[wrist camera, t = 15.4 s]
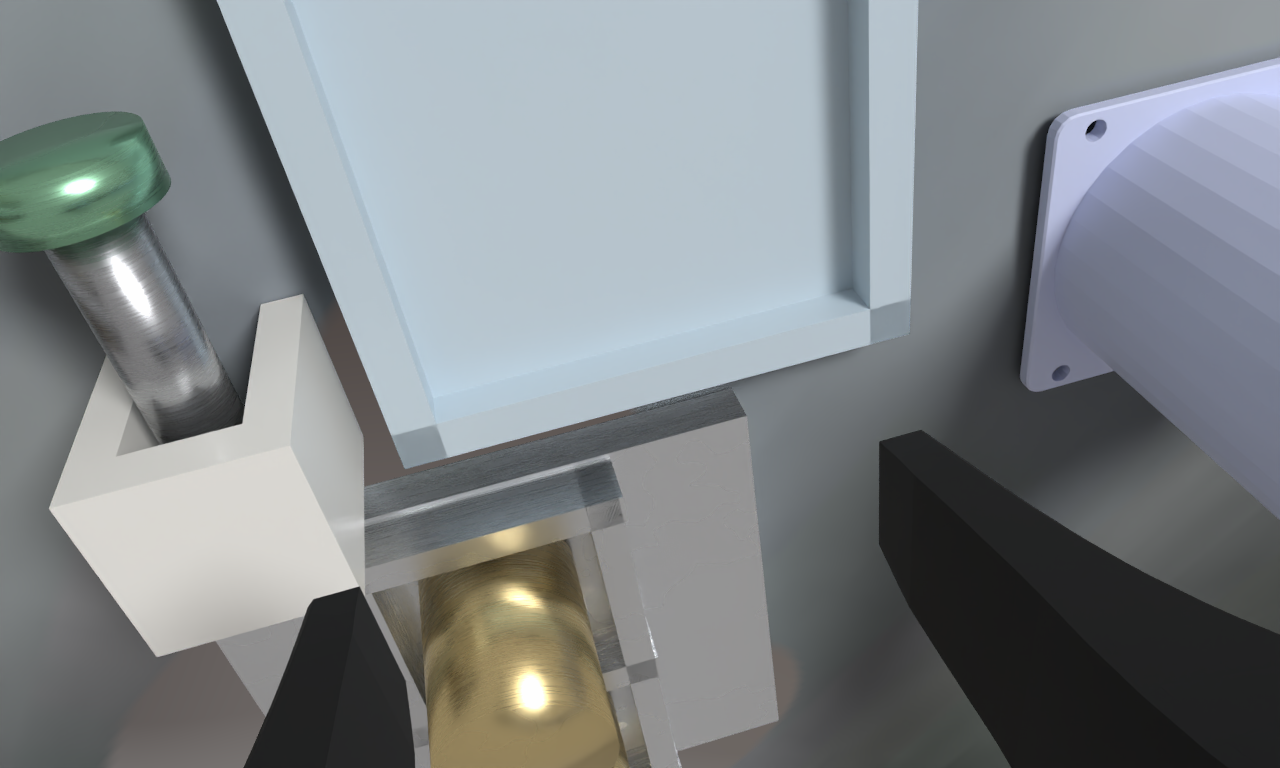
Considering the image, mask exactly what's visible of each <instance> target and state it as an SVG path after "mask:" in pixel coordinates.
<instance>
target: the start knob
mask: <svg viewBox="0 0 1280 768" xmlns="http://www.w3.org/2000/svg"><path fill="white" fill-rule="evenodd" d="M170 185H171V178H170V176H169V174H168V172H167V170H166V168H165V166H164V164H163V162H162V160H161V157H160V155H159V153H158V151H157V149H156V147H155V145H154V143H153V141H152V139H151V137H150V135H149V133H148V130H147V128H146V126H145V124H144V122H143V120H142V119H141V117H139V116H138V115H135V114H132V113H127V112H101V113H93V114H87V115H81V116H76V117H71V118H67V119H63V120H59V121H55V122H52V123H48V124H45V125H42V126H39V127H36V128H33V129H30V130H27V131H24V132H22V133H19V134H17V135H14V136H12V137H9V138H7V139H5V140H3V141H0V250H1V251H6V252H15V253H22V252H36V251H43V250H44V251H45V253H46V255H47V256H48V258H49V260H50V261H51V263H52V265H53V266H54V268H55V270H56V271H57V273H58V275H59V276H60V278H61V280H62V281H63V283H64V285H65V286H66V288H67V290H68V291H69V293H70V295H71V296H72V298H73V300H74V301H75V303H76V305H77V307H78V308H79V310H80V312H81V313H82V315H83V317H84V318H85V320H86V322H87V323H88V325H89V327H90V328H91V330H92V332H93V333H94V335H95V337H96V338H97V340H98V342H99V343H100V345H101V347H102V348H103V350H104V352H105V353H106V355H107V357H108V358H109V360H110V362H111V363H112V365H113V367H114V369H115V370H116V372H117V374H118V375H119V377H120V379H121V380H122V382H123V384H124V385H125V387H126V389H127V390H128V392H129V394H130V395H131V397H132V399H133V400H134V402H135V404H136V405H137V407H138V409H139V410H140V412H141V414H142V415H143V417H144V419H145V420H146V422H147V424H148V425H149V427H150V429H151V430H152V432H153V434H154V436H155V437H156V439H157V441H158V442H159V444H160V445H163V444H166V443H170V442H174V441H178V440H182V439H186V438H190V437H193V436H197V435H201V434H205V433H209V432H213V431H217V430H221V429H224V428H228V427H232V426H236V425H240V424H242V423H243V416H244V410H245V408H244V406H243V404H242V402H241V400H240V399H239V397H238V395H237V393H236V391H235V389H234V387H233V385H232V383H231V381H230V379H229V377H228V375H227V373H226V371H225V369H224V367H223V365H222V363H221V361H220V359H219V357H218V355H217V353H216V352H215V350H214V348H213V346H212V344H211V342H210V340H209V338H208V336H207V334H206V332H205V330H204V328H203V326H202V324H201V322H200V320H199V318H198V316H197V314H196V312H195V310H194V308H193V307H192V305H191V303H190V301H189V299H188V297H187V295H186V293H185V291H184V289H183V287H182V285H181V283H180V281H179V279H178V277H177V275H176V273H175V271H174V269H173V267H172V265H171V263H170V261H169V260H168V258H167V256H166V254H165V252H164V250H163V248H162V246H161V244H160V242H159V240H158V238H157V236H156V234H155V232H154V230H153V228H152V226H151V224H150V222H149V220H148V218H147V216H146V215H145V213H144V212H146V211H147V210H149V209H150V208H152V207H153V206H154V205H155V204H156V203H158V202H159V201H160V200H161V199H162V198H163V197H164V196H165V194H166V193H167V192H168V190H169V188H170Z"/></svg>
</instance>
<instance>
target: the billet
mask: <svg viewBox="0 0 1280 768" xmlns="http://www.w3.org/2000/svg"><path fill="white" fill-rule="evenodd" d="M418 590H419V604H420V619H421V634H422V648H423V663H424V677H425V692H426V707H427V721H428V736H429V750H430V765H431V768H614V766H615V764H616V762H617V759H618V755H619V740H618V735H617V731H616V727H615V723H614V719H613V715H612V711H611V707H610V703H609V699H608V695H607V691H606V687H605V683H604V679H603V675H602V671H601V667H600V663H599V658H598V654H597V650H596V646H595V642H594V638H593V634H592V630H591V626H590V622H589V618H588V614H587V610H586V606H585V602H584V598H583V594H582V590H581V586H580V582H579V578H578V574H577V570H576V566H575V562H574V558H573V554H572V552H571V549H570V548H569V546H568V545H567V543H566V542H565V541H564V540H560V541H557V542H553V543H550V544H546V545H543V546H539V547H535V548H532V549H528V550H525V551H521V552H518V553H514V554H510V555H507V556H503V557H500V558H496V559H493V560H489V561H485V562H482V563H478V564H475V565H471V566H468V567H464V568H460V569H457V570H453V571H450V572H446V573H442V574H439V575H435V576H432V577H428V578H425V579H421V580H418Z"/></svg>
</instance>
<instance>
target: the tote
mask: <svg viewBox="0 0 1280 768" xmlns="http://www.w3.org/2000/svg"><path fill="white" fill-rule="evenodd" d="M217 2H218V5H219V7H220V10H221V12H222V15H223V17H224V20H225V22H226V25H227V27H228V30H229V32H230V35H231V37H232V40H233V42H234V45H235V47H236V50H237V52H238V55H239V57H240V60H241V62H242V65H243V67H244V70H245V72H246V75H247V77H248V80H249V82H250V85H251V87H252V90H253V92H254V95H255V97H256V100H257V102H258V105H259V107H260V110H261V112H262V115H263V117H264V120H265V122H266V125H267V127H268V130H269V132H270V135H271V137H272V140H273V142H274V145H275V147H276V150H277V152H278V155H279V157H280V159H281V162H282V164H283V167H284V169H285V172H286V174H287V177H288V179H289V182H290V184H291V187H292V189H293V192H294V194H295V197H296V199H297V202H298V204H299V207H300V209H301V212H302V214H303V217H304V219H305V222H306V224H307V227H308V229H309V232H310V234H311V237H312V239H313V242H314V244H315V247H316V249H317V252H318V254H319V257H320V259H321V262H322V264H323V267H324V269H325V272H326V274H327V277H328V279H329V282H330V284H331V287H332V289H333V292H334V294H335V297H336V299H337V302H338V304H339V307H340V309H341V312H342V314H343V317H344V319H345V322H346V324H347V327H348V329H349V331H350V334H351V336H352V339H353V341H354V344H355V346H356V349H357V351H358V354H359V356H360V359H361V361H362V364H363V366H364V369H365V371H366V374H367V376H368V379H369V381H370V384H371V386H372V389H373V391H374V394H375V396H376V399H377V401H378V404H379V406H380V409H381V411H382V414H383V416H384V419H385V421H386V424H387V426H388V429H389V431H390V434H391V436H392V439H393V441H394V444H395V446H396V449H397V451H398V454H399V456H400V459H401V461H402V464H403V466H404V469H407V468H411V467H415V466H419V465H422V464H426V463H430V462H434V461H437V460H441V459H445V458H449V457H452V456H456V455H460V454H463V453H467V452H471V451H475V450H478V449H482V448H485V447H490V446H493V445H497V444H501V443H505V442H508V441H511V440H516V439H519V438H523V437H527V436H531V435H534V434H538V433H542V432H546V431H549V430H553V429H556V428H560V427H564V426H568V425H572V424H575V423H579V422H583V421H586V420H590V419H594V418H598V417H601V416H605V415H609V414H613V413H616V412H620V411H624V410H628V409H631V408H635V407H639V406H643V405H646V404H650V403H654V402H658V401H661V400H665V399H669V398H672V397H676V396H680V395H684V394H687V393H691V392H695V391H699V390H702V389H706V388H710V387H714V386H717V385H721V384H725V383H728V382H732V381H736V380H740V379H743V378H747V377H751V376H755V375H758V374H762V373H766V372H769V371H773V370H777V369H781V368H784V367H788V366H792V365H796V364H799V363H803V362H807V361H811V360H814V359H818V358H822V357H825V356H829V355H833V354H837V353H840V352H844V351H848V350H852V349H855V348H859V347H863V346H867V345H870V344H874V343H878V342H881V341H885V340H889V339H893V338H896V337H900V336H904V335H908V334H910V305H911V266H912V227H913V188H914V149H915V109H916V70H917V31H918V0H217Z"/></svg>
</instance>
